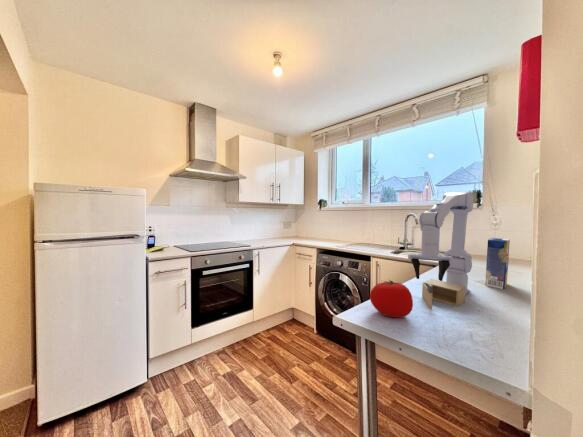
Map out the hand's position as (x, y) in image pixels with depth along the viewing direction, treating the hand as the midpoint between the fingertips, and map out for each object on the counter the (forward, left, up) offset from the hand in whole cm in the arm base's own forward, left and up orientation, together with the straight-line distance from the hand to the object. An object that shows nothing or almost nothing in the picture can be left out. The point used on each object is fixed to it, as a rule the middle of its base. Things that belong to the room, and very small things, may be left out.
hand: (428, 279), depth 90 cm
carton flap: (-3, -2, -10) cm, 11 cm away
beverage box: (-53, +10, -10) cm, 55 cm away
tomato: (+17, -5, -11) cm, 21 cm away
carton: (-13, +1, -10) cm, 16 cm away
